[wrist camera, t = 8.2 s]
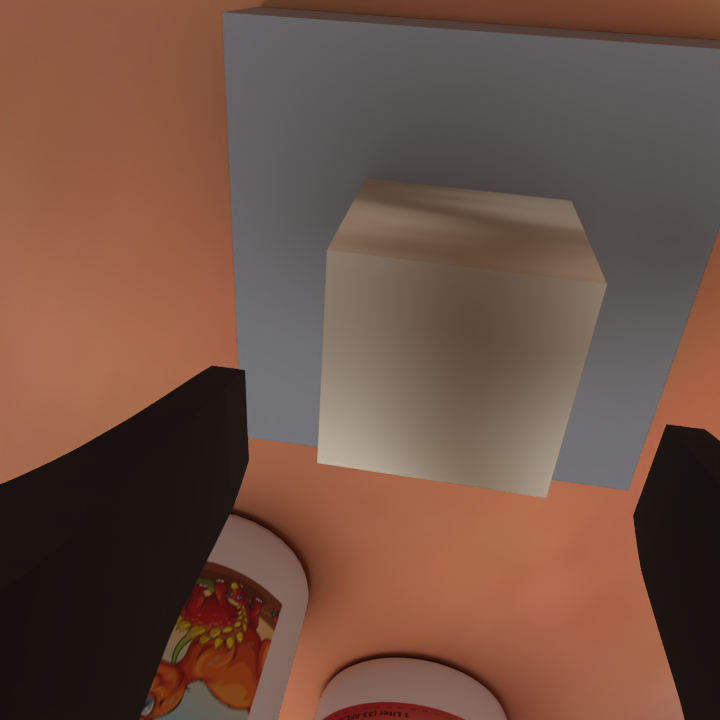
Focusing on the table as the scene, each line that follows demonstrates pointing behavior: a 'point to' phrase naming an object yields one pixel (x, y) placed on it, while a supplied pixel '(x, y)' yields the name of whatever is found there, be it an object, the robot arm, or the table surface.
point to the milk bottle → (234, 632)
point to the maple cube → (455, 334)
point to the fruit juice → (405, 693)
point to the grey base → (471, 186)
